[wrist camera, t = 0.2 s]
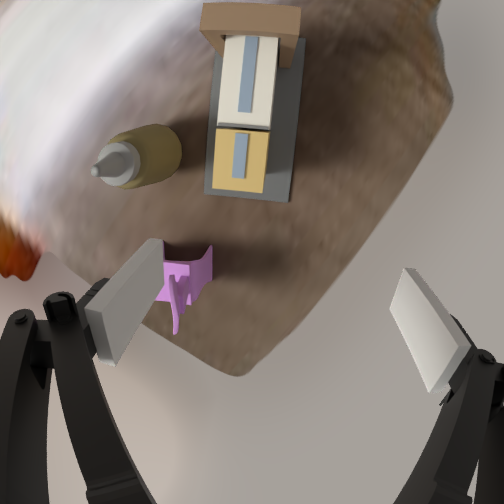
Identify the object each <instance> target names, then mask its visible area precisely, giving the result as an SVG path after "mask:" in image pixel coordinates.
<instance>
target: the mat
mask: <svg viewBox="0 0 504 504" xmlns="http://www.w3.org/2000/svg"><path fill="white" fill-rule="evenodd" d="M280 42H281V38H279V52H278V62H277V72H276V82H275V91H274V101H273V111H272V120H271V129H270V130H265V129H255V128H243V127H229V126H217V119H218V107H219V97H220V86H221V76H222V67H223V58H222V57H221V56H220V55H219V53H218V52H217V51H215V60H214V69H213V79H212V89H211V99H210V110H209V122H208V135H207V149H206V164H205V181H204V194H210V195H221V196H231V197H241V198H251V199H260V200H269V201H277V202H286V203H288V198H289V190H290V182H291V174H292V166H293V158H294V150H295V141H296V133H297V124H298V115H299V106H300V96H301V86H302V76H303V66H304V55H305V44H306V38H299V37H298V41H297V44H296V48H295V52H294V56H293V59H292V63H291V67H290V69H289V68H281V67H279V57H280ZM223 128H237V129H249V130H260V131H270V139H269V149H268V159H267V168H266V176H265V181H264V187H263V192H262V193H255V192H246V191H236V190H225V189H214V188H212V183H213V167H214V153H215V139H216V129H223Z"/></svg>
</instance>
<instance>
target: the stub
mask: <svg viewBox="0 0 504 504" xmlns="http://www.w3.org/2000/svg"><path fill="white" fill-rule="evenodd" d="M269 139H270V131H260V130H249V129H237V128H223V129H216V139H215V153H214V167H213V183H212V188H214V189H225V190H236V191H246V192H255V193H262V192H263V187H264V181H265V176H266V168H267V159H268V149H269Z"/></svg>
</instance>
